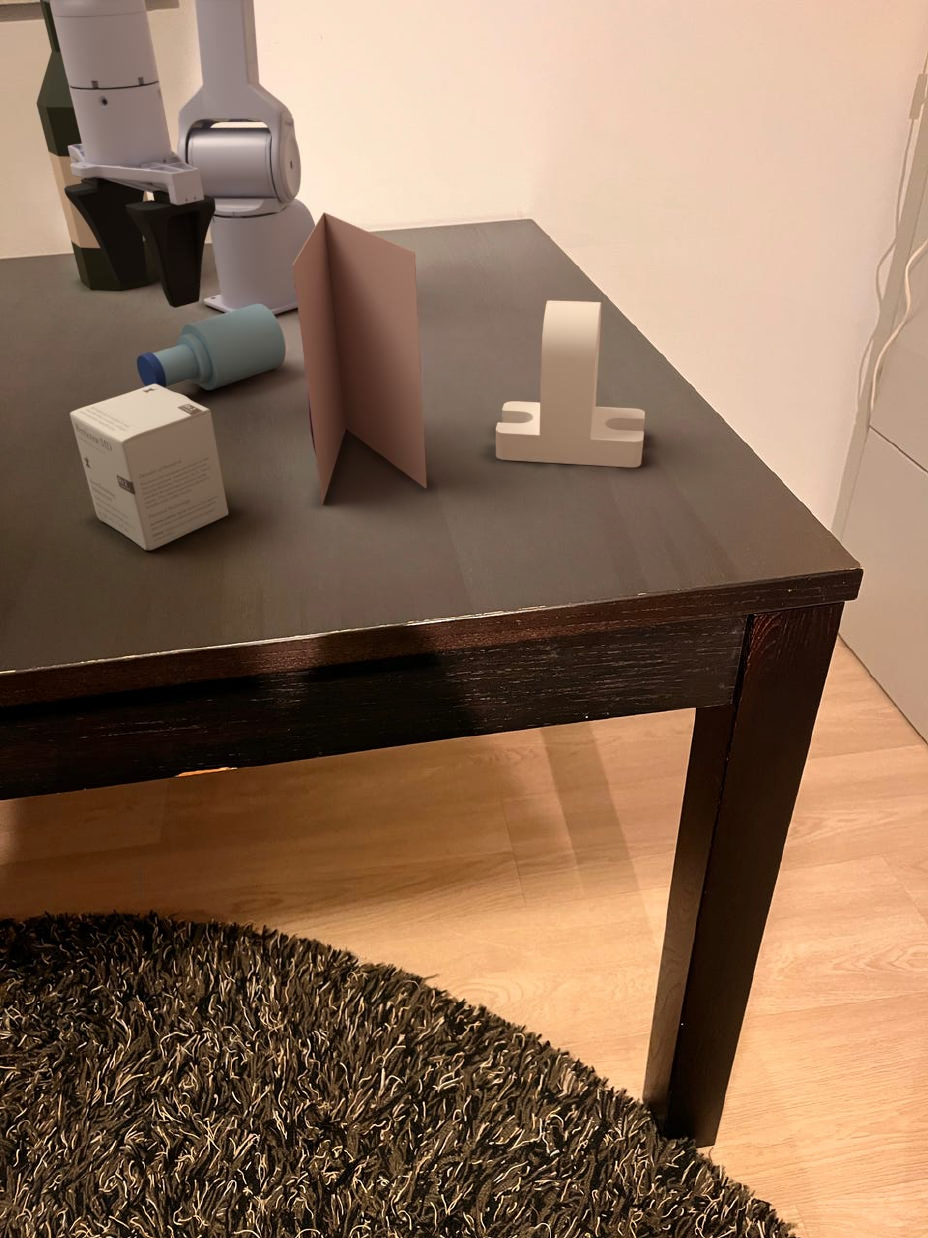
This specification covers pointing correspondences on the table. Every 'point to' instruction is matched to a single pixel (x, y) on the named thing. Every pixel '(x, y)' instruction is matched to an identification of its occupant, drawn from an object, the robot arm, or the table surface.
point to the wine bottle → (59, 136)
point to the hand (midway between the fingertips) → (157, 292)
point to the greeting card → (360, 345)
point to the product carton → (151, 464)
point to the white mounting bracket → (570, 401)
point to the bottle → (218, 350)
